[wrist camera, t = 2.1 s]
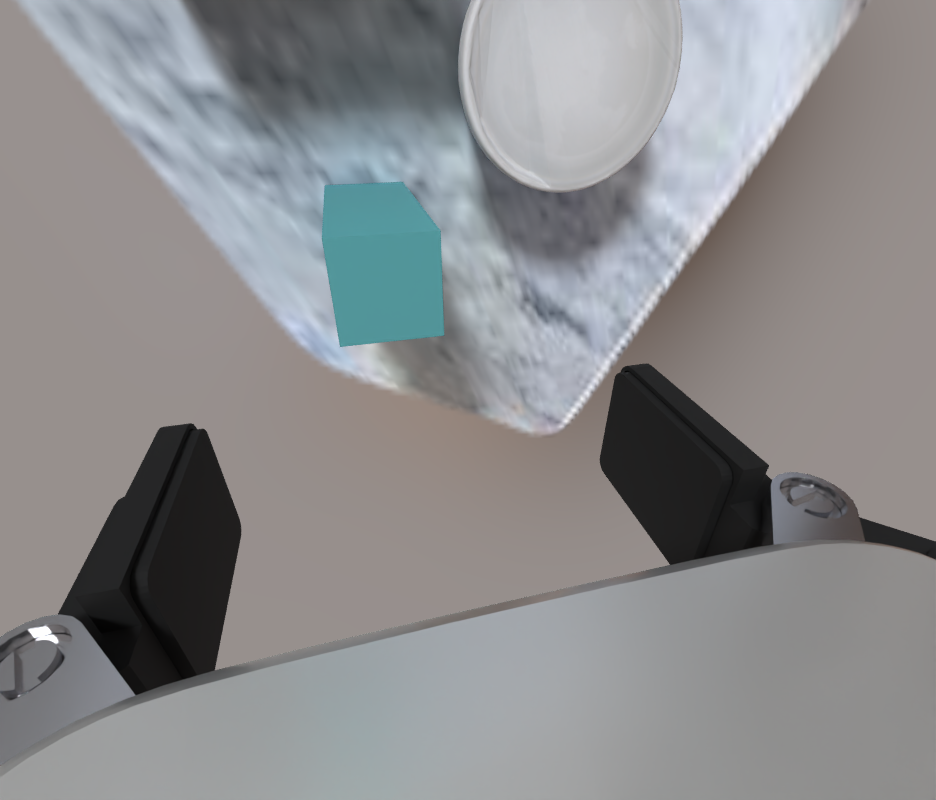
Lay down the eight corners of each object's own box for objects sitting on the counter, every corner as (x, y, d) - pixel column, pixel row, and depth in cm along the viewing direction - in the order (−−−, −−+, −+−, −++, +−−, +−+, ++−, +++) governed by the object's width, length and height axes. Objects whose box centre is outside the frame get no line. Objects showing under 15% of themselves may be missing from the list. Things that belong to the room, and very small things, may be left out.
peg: (402, 182, 29) (440, 230, 19) (407, 257, 31) (444, 335, 21) (324, 185, 28) (322, 238, 18) (336, 262, 30) (339, 346, 20)
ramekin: (399, 73, 26) (412, 70, 21) (548, -128, 23) (599, -178, 19) (529, 217, 32) (561, 237, 27) (662, 71, 29) (720, 68, 24)
